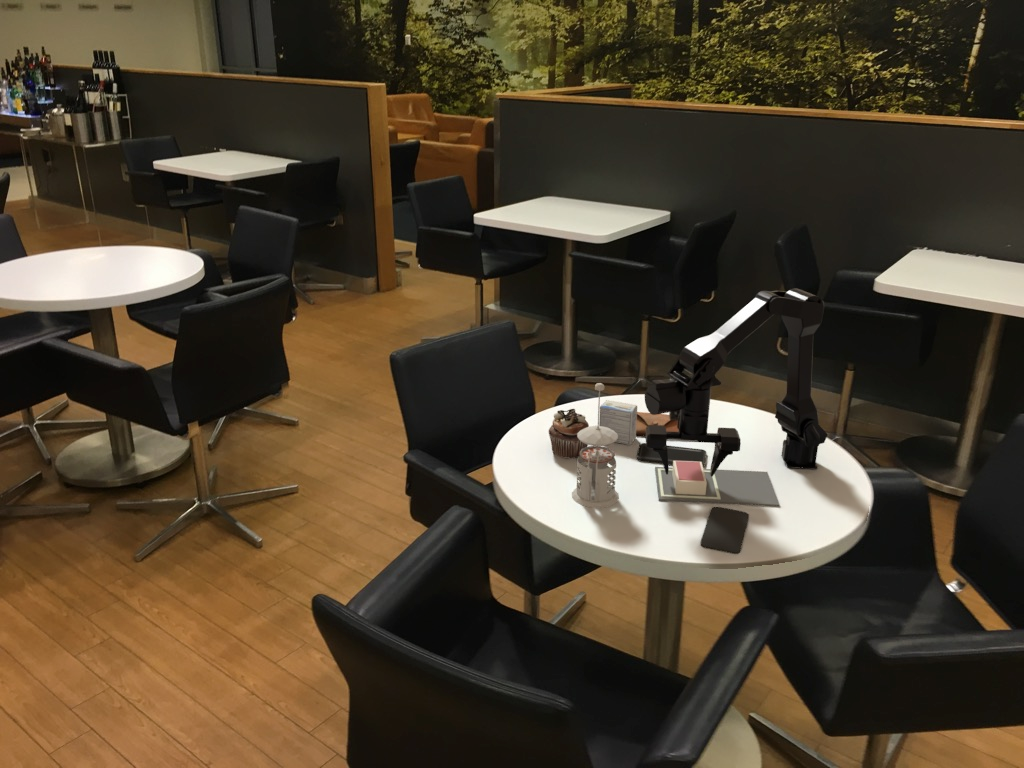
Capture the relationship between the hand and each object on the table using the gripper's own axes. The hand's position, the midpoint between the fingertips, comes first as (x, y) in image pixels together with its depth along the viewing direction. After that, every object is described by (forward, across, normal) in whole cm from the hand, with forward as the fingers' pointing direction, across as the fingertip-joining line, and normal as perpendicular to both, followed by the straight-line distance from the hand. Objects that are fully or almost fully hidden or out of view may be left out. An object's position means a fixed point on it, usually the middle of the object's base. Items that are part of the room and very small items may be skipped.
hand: (689, 474), depth 177 cm
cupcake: (+3, +26, -14) cm, 29 cm away
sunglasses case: (+3, +5, -26) cm, 27 cm away
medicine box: (+3, +14, -21) cm, 26 cm away
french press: (+3, +20, +7) cm, 21 cm away
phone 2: (+3, +2, -13) cm, 14 cm away
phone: (+3, -5, +17) cm, 18 cm away
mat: (+3, -6, 0) cm, 6 cm away
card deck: (+2, 0, 0) cm, 2 cm away
